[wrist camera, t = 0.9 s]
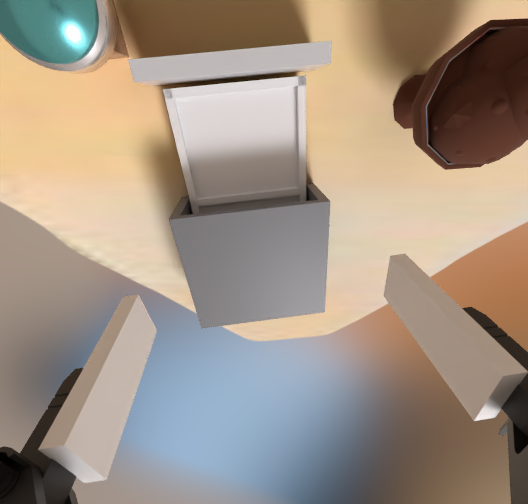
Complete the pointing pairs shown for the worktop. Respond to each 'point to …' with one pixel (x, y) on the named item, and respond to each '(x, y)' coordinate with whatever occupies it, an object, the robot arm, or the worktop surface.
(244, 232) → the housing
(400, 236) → the worktop surface
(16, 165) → the worktop surface
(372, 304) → the worktop surface
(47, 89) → the worktop surface
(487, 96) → the ice cream bowl
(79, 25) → the disc
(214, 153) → the tray
